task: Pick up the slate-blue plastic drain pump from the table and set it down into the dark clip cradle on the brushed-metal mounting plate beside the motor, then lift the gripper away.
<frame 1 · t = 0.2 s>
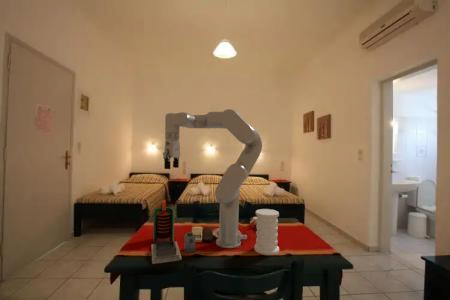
hand: (171, 168, 126), 37 cm above the table, tool pointing down, fingers open, 9 cm apart
decorative container: (266, 250, 111), on the table
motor: (163, 240, 121), on the table
mounting plate: (165, 252, 106), on the table
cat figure: (260, 230, 139), on the table
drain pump: (189, 249, 110), on the table
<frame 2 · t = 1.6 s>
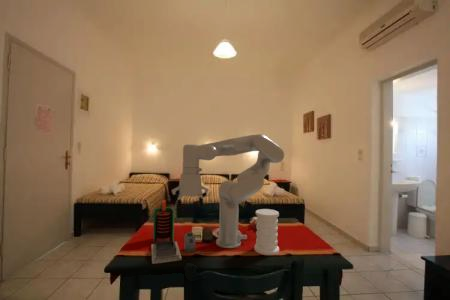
hand: (190, 207, 109), 20 cm above the table, tool pointing down, fingers open, 9 cm apart
nothing on the table moved.
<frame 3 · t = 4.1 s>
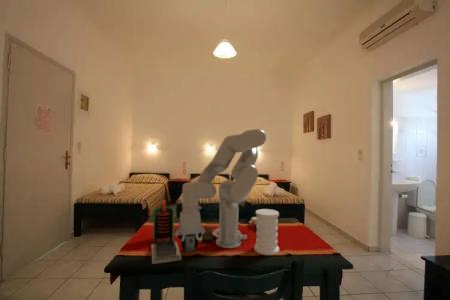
hand: (189, 247, 110), 1 cm above the table, tool pointing down, fingers closed on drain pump, 5 cm apart
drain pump: (189, 249, 110), on the table, touching gripper
everything else where it was.
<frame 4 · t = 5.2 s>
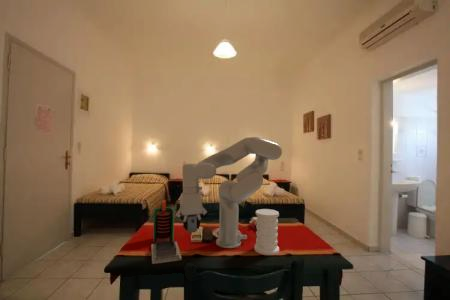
hand: (191, 228, 110), 10 cm above the table, tool pointing down, fingers closed on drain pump, 5 cm apart
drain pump: (191, 230, 110), point 9 cm above the table, touching gripper
everything else where it was.
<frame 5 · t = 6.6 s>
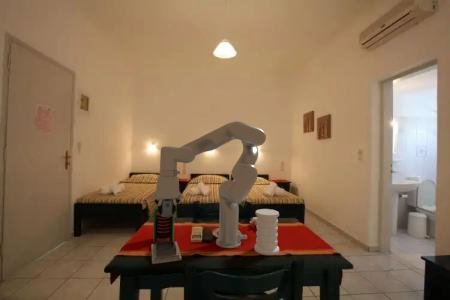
hand: (166, 213, 106), 18 cm above the table, tool pointing down, fingers closed on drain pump, 5 cm apart
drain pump: (166, 215, 106), point 17 cm above the table, touching gripper
everything else where it was.
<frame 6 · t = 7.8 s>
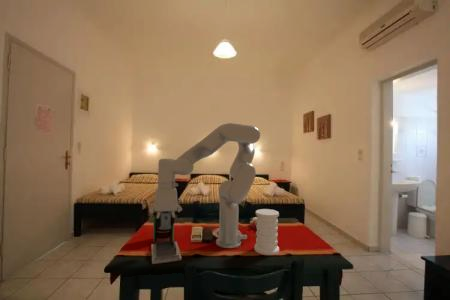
hand: (165, 225, 106), 12 cm above the table, tool pointing down, fingers closed on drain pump, 5 cm apart
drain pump: (165, 227, 106), point 11 cm above the table, touching gripper
everything else where it was.
when the fingers open (4 cm above the table, at t = 9.6 s): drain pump stays where it is, point 2 cm above the table.
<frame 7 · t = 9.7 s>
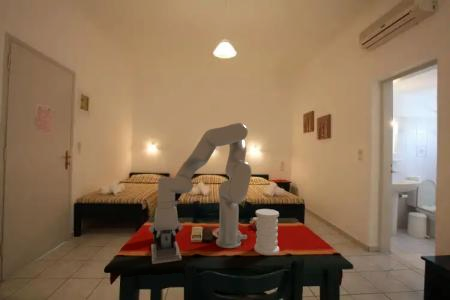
hand: (165, 243, 106), 4 cm above the table, tool pointing down, fingers open, 5 cm apart
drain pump: (165, 247, 106), point 2 cm above the table
everything else where it was.
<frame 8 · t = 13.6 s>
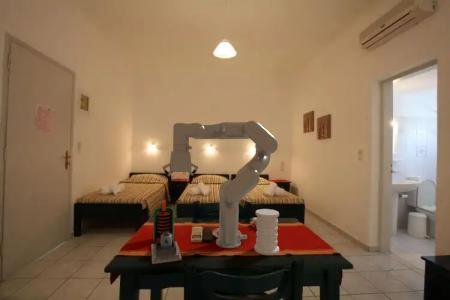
hand: (180, 183, 114), 30 cm above the table, tool pointing down, fingers open, 9 cm apart
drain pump: (166, 250, 106), point 1 cm above the table, touching mounting plate
at the end: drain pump 0.2 cm off-centre on the mounting plate, point 1.0 cm above the mounting plate's base; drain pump tilted 1°; the gripper is holding nothing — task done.
